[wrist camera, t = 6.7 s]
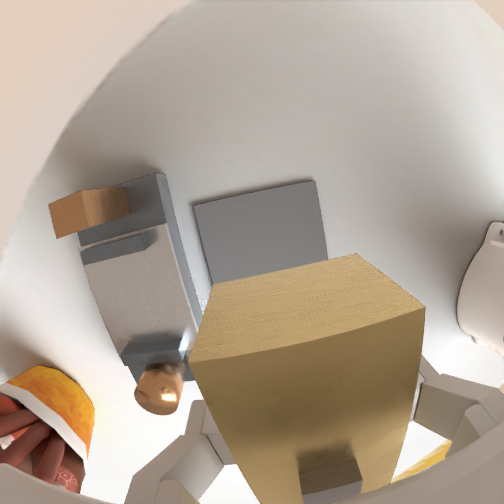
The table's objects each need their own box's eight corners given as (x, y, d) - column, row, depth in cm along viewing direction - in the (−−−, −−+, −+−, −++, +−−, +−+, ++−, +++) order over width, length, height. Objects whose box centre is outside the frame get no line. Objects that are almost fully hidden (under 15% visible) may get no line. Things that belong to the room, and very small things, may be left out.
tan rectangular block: (213, 284, 9) (179, 391, 4) (355, 253, 8) (448, 325, 4) (264, 442, 10) (268, 532, 6) (361, 420, 10) (393, 502, 6)
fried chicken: (91, 444, 34) (55, 527, 15) (18, 386, 31) (-37, 455, 12) (134, 395, 30) (82, 521, 11) (36, 316, 28) (-60, 402, 8)
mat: (313, 180, 25) (315, 180, 24) (330, 291, 27) (332, 293, 27) (194, 205, 25) (193, 206, 24) (222, 314, 28) (222, 317, 27)
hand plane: (86, 199, 24) (21, 212, 15) (165, 173, 24) (119, 170, 14) (144, 369, 29) (117, 429, 20) (217, 361, 29) (209, 428, 19)
